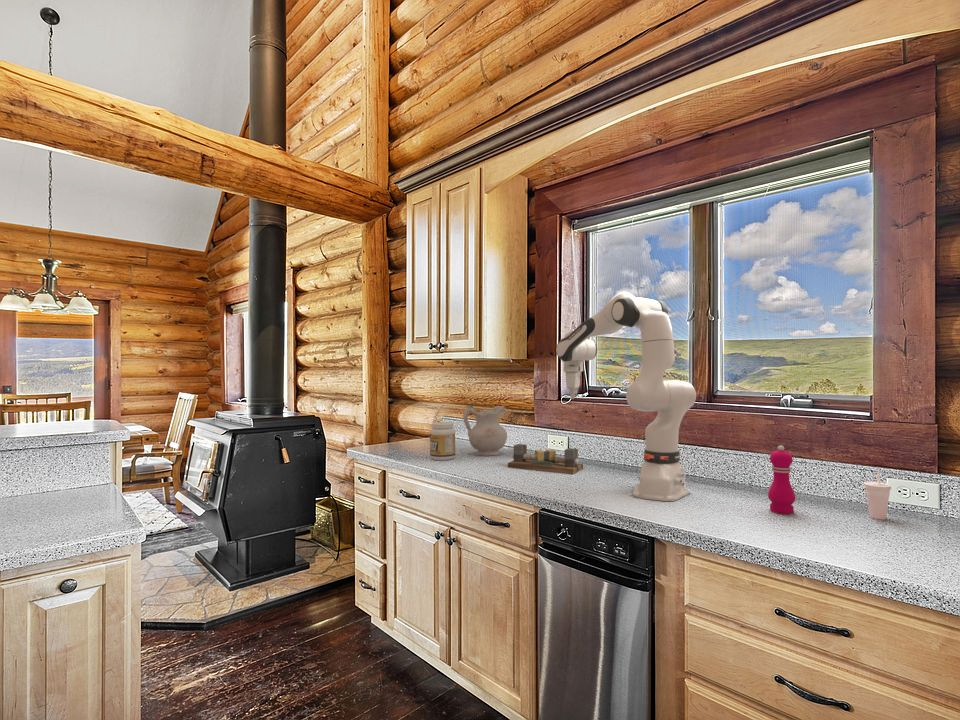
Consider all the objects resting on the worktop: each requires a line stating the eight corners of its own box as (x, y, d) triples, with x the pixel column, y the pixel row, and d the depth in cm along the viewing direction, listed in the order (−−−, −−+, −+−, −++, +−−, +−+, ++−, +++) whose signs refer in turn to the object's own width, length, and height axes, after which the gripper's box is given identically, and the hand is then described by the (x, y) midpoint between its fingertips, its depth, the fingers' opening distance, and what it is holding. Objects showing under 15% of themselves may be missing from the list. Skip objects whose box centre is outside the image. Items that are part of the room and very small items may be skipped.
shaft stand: (572, 474, 212) (572, 452, 212) (508, 467, 228) (507, 446, 228) (583, 468, 223) (583, 447, 223) (520, 462, 238) (520, 442, 238)
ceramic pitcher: (472, 461, 248) (474, 409, 246) (457, 451, 266) (458, 403, 264) (513, 457, 257) (514, 407, 255) (495, 448, 274) (497, 401, 273)
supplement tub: (424, 458, 250) (424, 423, 250) (444, 455, 258) (444, 421, 258) (440, 462, 241) (440, 425, 241) (460, 458, 249) (460, 423, 249)
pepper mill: (763, 507, 162) (762, 443, 162) (787, 507, 162) (786, 443, 162) (776, 514, 155) (775, 447, 155) (800, 514, 155) (800, 447, 155)
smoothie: (897, 519, 149) (896, 470, 149) (880, 521, 147) (880, 472, 147) (874, 513, 155) (874, 466, 155) (858, 515, 153) (858, 467, 153)
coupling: (555, 460, 224) (555, 450, 224) (537, 461, 223) (537, 451, 223) (552, 458, 228) (552, 449, 228) (534, 459, 226) (534, 450, 226)
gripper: (569, 367, 249) (569, 396, 249) (563, 368, 230) (563, 399, 230) (582, 367, 247) (582, 396, 247) (577, 368, 228) (578, 399, 228)
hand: (573, 398), depth 238 cm, fingers open, 8 cm apart
